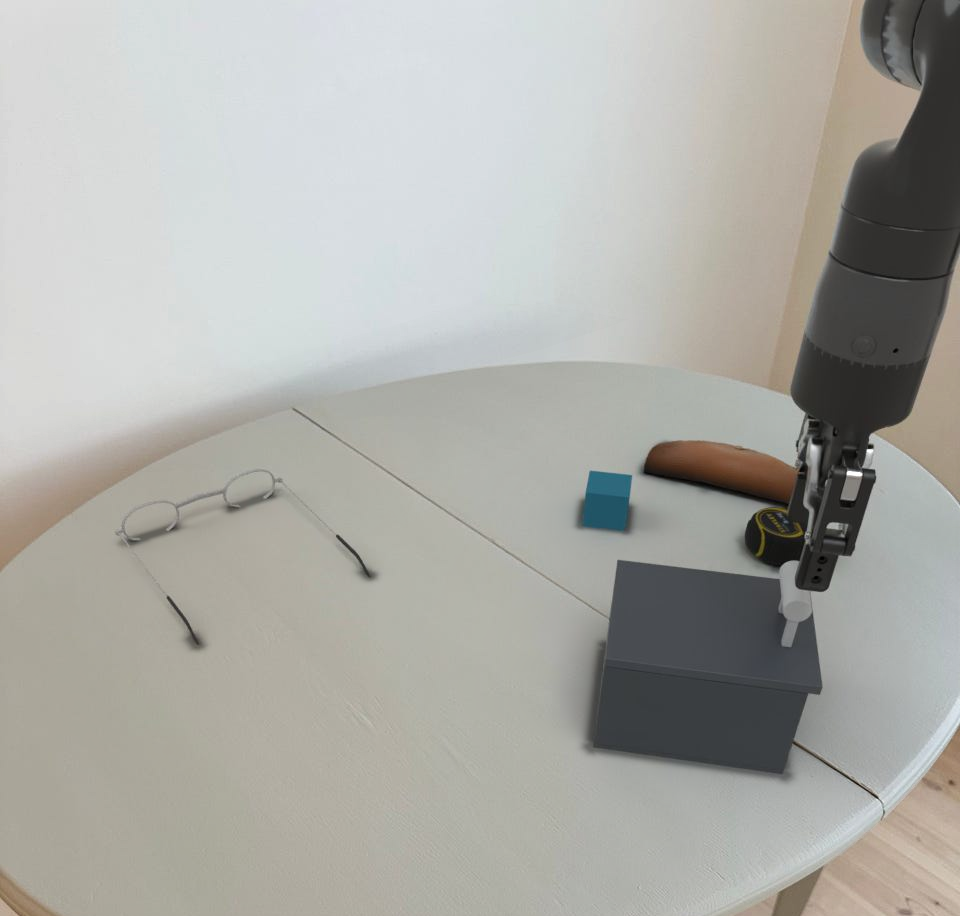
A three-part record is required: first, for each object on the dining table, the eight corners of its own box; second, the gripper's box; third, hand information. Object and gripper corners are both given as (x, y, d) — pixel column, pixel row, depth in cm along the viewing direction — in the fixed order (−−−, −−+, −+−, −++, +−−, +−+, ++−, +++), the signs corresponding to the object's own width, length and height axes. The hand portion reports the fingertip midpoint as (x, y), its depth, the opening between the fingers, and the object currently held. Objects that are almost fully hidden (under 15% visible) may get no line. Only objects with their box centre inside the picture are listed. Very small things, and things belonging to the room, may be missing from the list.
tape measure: (823, 570, 97) (832, 538, 95) (757, 576, 96) (765, 544, 94) (793, 531, 102) (802, 500, 100) (731, 537, 101) (738, 505, 99)
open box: (773, 670, 86) (796, 589, 80) (781, 777, 76) (808, 694, 71) (605, 648, 87) (616, 567, 82) (592, 750, 78) (604, 667, 72)
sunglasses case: (819, 475, 110) (826, 443, 104) (802, 529, 108) (809, 500, 102) (662, 440, 115) (661, 407, 109) (643, 491, 114) (641, 461, 107)
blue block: (627, 511, 105) (632, 474, 102) (624, 533, 101) (629, 497, 99) (585, 506, 105) (589, 470, 102) (581, 528, 102) (585, 492, 99)
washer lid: (806, 590, 80) (823, 535, 76) (820, 695, 70) (839, 638, 67) (616, 567, 82) (623, 513, 78) (604, 666, 72) (612, 609, 69)
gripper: (955, 391, 54) (871, 621, 65) (914, 296, 65) (848, 506, 75) (815, 377, 55) (755, 606, 66) (798, 285, 66) (748, 494, 76)
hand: (805, 552), depth 70 cm, fingers open, 8 cm apart
